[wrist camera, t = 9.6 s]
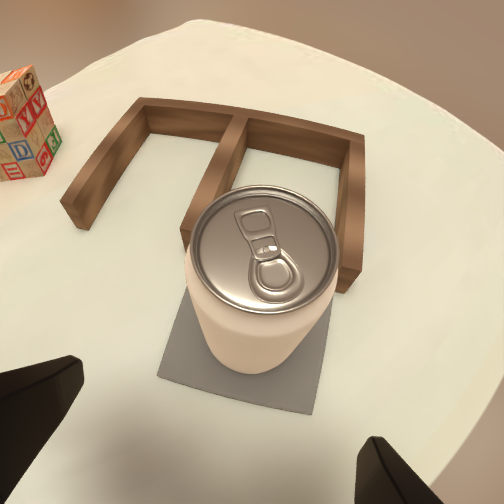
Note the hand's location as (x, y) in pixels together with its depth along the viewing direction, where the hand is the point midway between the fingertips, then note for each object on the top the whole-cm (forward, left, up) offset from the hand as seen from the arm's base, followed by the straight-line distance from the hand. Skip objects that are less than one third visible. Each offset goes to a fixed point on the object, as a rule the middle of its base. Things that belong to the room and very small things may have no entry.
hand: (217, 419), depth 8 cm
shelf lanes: (+19, -7, -13) cm, 24 cm away
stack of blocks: (+37, +20, -13) cm, 44 cm away
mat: (+5, -4, -13) cm, 14 cm away
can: (+5, -4, -13) cm, 14 cm away
